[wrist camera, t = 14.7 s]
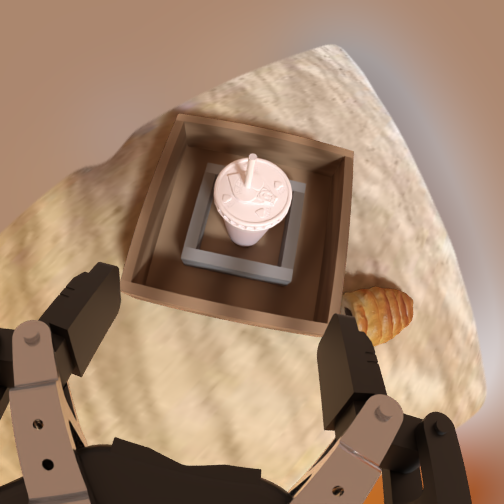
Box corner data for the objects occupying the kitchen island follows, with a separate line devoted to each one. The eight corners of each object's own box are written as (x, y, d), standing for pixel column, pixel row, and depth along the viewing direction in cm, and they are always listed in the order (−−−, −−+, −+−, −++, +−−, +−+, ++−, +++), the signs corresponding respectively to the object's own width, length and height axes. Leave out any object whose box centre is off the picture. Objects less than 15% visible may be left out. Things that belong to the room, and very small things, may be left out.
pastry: (400, 281, 35) (417, 275, 32) (410, 333, 34) (428, 332, 30) (334, 295, 34) (346, 290, 30) (344, 353, 32) (358, 354, 29)
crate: (135, 298, 32) (118, 290, 26) (183, 143, 37) (178, 113, 31) (316, 336, 32) (335, 336, 27) (336, 176, 38) (353, 151, 32)
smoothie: (234, 193, 35) (242, 112, 21) (284, 221, 34) (320, 151, 21) (204, 240, 33) (193, 173, 20) (256, 270, 33) (280, 221, 19)
